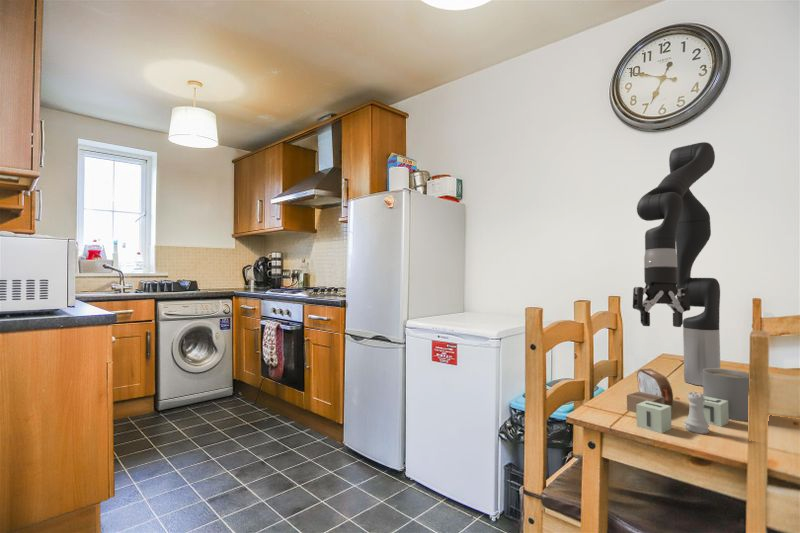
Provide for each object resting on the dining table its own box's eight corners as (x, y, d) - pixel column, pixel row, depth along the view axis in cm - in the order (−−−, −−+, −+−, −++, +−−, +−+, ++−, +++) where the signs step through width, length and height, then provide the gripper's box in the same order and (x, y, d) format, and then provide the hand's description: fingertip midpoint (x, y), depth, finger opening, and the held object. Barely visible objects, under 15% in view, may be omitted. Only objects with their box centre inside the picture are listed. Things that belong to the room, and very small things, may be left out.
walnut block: (639, 406, 104) (639, 391, 104) (664, 413, 99) (664, 397, 99) (627, 411, 100) (626, 395, 101) (652, 418, 95) (652, 401, 96)
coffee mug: (756, 424, 91) (754, 380, 91) (701, 414, 97) (700, 373, 98) (756, 409, 101) (755, 369, 101) (707, 401, 107) (706, 364, 108)
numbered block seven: (702, 416, 96) (702, 395, 96) (728, 422, 92) (728, 400, 92) (694, 420, 93) (693, 398, 93) (720, 427, 89) (720, 404, 89)
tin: (674, 413, 99) (674, 378, 99) (660, 412, 99) (660, 378, 99) (647, 395, 113) (646, 365, 114) (635, 394, 114) (634, 365, 114)
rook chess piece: (679, 427, 89) (678, 390, 89) (697, 426, 90) (697, 390, 90) (695, 434, 85) (694, 396, 85) (715, 434, 85) (714, 396, 85)
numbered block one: (647, 422, 92) (646, 399, 93) (671, 428, 88) (670, 405, 89) (636, 426, 90) (636, 403, 90) (661, 434, 85) (660, 409, 86)
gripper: (676, 268, 112) (677, 326, 111) (626, 266, 112) (627, 324, 111) (696, 266, 105) (698, 328, 104) (643, 264, 104) (644, 326, 103)
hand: (661, 326), depth 107 cm, fingers open, 8 cm apart
